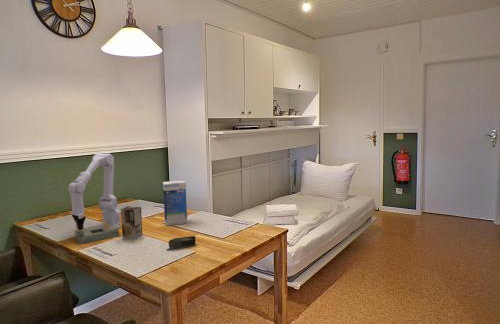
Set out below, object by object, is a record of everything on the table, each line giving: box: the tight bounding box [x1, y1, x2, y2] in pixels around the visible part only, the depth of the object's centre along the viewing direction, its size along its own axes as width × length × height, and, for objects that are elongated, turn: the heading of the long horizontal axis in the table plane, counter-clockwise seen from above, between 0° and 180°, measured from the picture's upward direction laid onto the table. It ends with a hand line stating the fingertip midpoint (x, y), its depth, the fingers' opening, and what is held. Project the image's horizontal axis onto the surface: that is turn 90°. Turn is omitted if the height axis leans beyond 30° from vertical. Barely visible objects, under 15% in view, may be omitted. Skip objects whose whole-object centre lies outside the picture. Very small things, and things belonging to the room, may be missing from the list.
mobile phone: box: [166, 235, 197, 251], centre depth 172 cm, size 5×3×15 cm
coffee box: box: [120, 205, 143, 240], centre depth 188 cm, size 9×6×16 cm
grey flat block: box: [73, 224, 120, 245], centre depth 190 cm, size 20×14×4 cm
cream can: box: [74, 221, 85, 232], centre depth 189 cm, size 4×4×7 cm
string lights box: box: [162, 180, 188, 226], centre depth 211 cm, size 13×8×26 cm, turn 108°
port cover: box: [102, 222, 122, 231], centre depth 193 cm, size 8×8×3 cm
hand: (79, 228), depth 189 cm, fingers open, 5 cm apart
